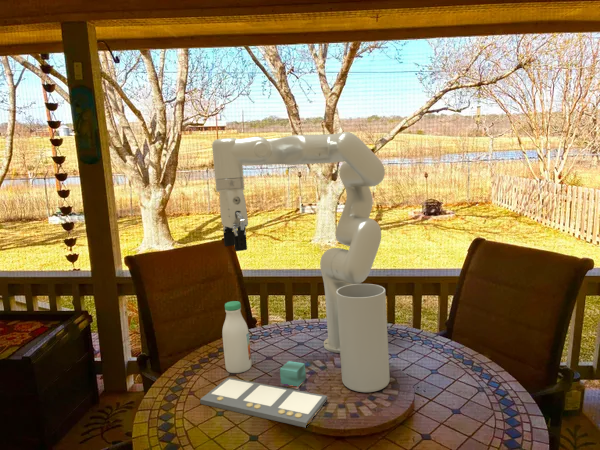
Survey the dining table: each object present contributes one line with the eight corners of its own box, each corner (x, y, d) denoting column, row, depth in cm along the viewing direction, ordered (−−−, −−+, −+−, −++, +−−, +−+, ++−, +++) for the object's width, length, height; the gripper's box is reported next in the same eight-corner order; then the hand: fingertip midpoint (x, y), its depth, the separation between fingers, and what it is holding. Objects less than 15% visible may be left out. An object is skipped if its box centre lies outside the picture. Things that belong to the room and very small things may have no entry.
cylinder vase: (361, 366, 124) (356, 281, 121) (399, 379, 115) (394, 288, 112) (332, 383, 115) (326, 292, 112) (370, 399, 106) (365, 300, 103)
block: (290, 378, 121) (288, 361, 120) (306, 380, 118) (304, 363, 118) (281, 386, 116) (279, 369, 115) (297, 389, 114) (296, 371, 113)
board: (228, 381, 121) (227, 376, 121) (327, 400, 107) (327, 394, 107) (200, 403, 110) (199, 398, 110) (306, 427, 97) (305, 421, 97)
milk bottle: (247, 374, 124) (240, 307, 122) (221, 373, 126) (214, 307, 123) (255, 362, 132) (249, 298, 129) (231, 361, 133) (224, 299, 131)
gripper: (254, 184, 110) (259, 250, 112) (233, 184, 126) (239, 242, 128) (225, 186, 107) (231, 254, 109) (208, 186, 123) (214, 245, 125)
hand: (235, 247), depth 119 cm, fingers open, 9 cm apart
